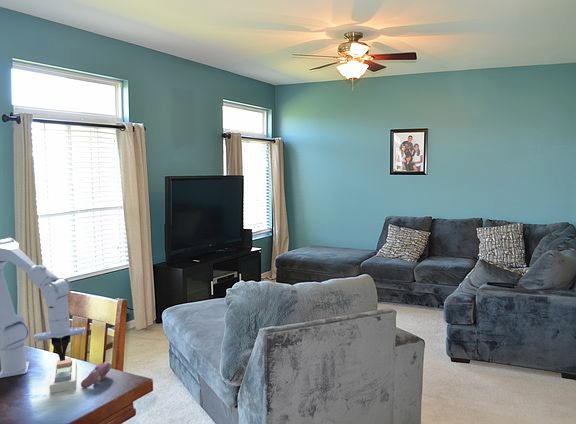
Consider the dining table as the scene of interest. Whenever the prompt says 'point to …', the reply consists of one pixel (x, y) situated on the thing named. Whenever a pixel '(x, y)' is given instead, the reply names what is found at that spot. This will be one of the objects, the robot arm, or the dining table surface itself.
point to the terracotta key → (64, 363)
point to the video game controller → (96, 375)
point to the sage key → (64, 370)
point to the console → (64, 384)
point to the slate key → (62, 376)
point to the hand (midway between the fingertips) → (62, 359)
